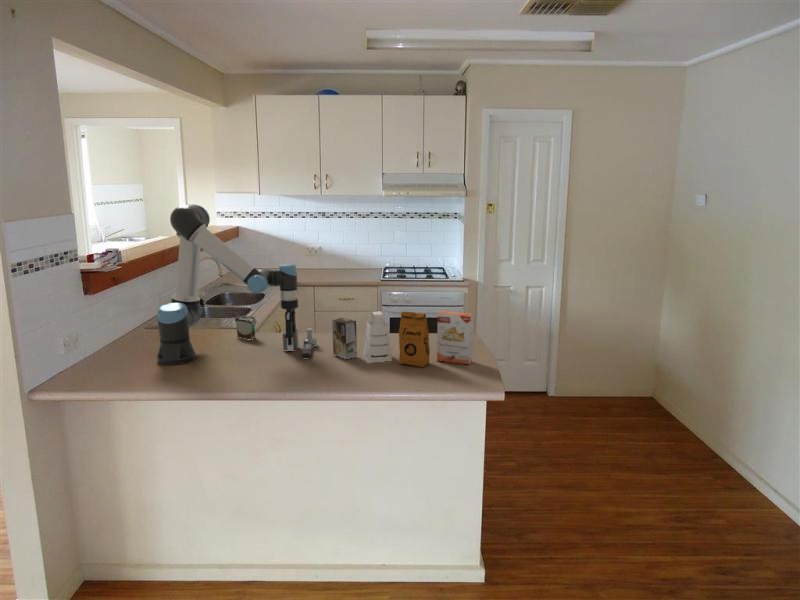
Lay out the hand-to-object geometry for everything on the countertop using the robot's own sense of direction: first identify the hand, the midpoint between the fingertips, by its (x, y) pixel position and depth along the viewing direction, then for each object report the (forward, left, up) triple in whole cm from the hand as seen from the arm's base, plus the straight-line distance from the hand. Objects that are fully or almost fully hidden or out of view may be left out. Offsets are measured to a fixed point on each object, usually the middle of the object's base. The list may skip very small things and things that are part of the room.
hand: (291, 348), depth 250 cm
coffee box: (-12, -24, 0) cm, 27 cm away
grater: (-16, -38, -1) cm, 41 cm away
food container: (+21, +23, 0) cm, 31 cm away
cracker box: (-22, -70, 0) cm, 74 cm away
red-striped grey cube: (0, 0, 0) cm, 0 cm away
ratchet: (-3, -8, 0) cm, 8 cm away
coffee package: (-24, -53, 0) cm, 58 cm away
